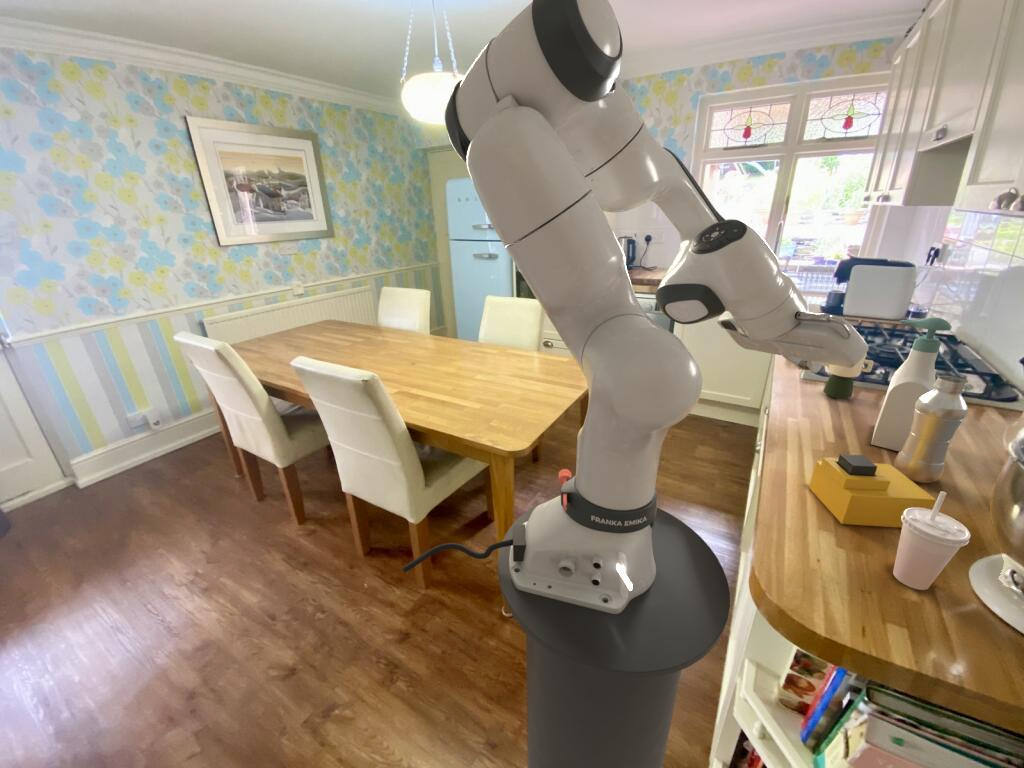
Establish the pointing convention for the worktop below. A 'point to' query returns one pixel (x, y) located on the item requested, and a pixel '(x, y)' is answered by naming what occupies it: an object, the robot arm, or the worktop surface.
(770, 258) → the robot arm
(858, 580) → the worktop surface
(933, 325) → the soap bottle
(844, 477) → the stepped yellow pedestal
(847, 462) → the block
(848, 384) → the character mug
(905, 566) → the smoothie
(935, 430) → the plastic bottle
